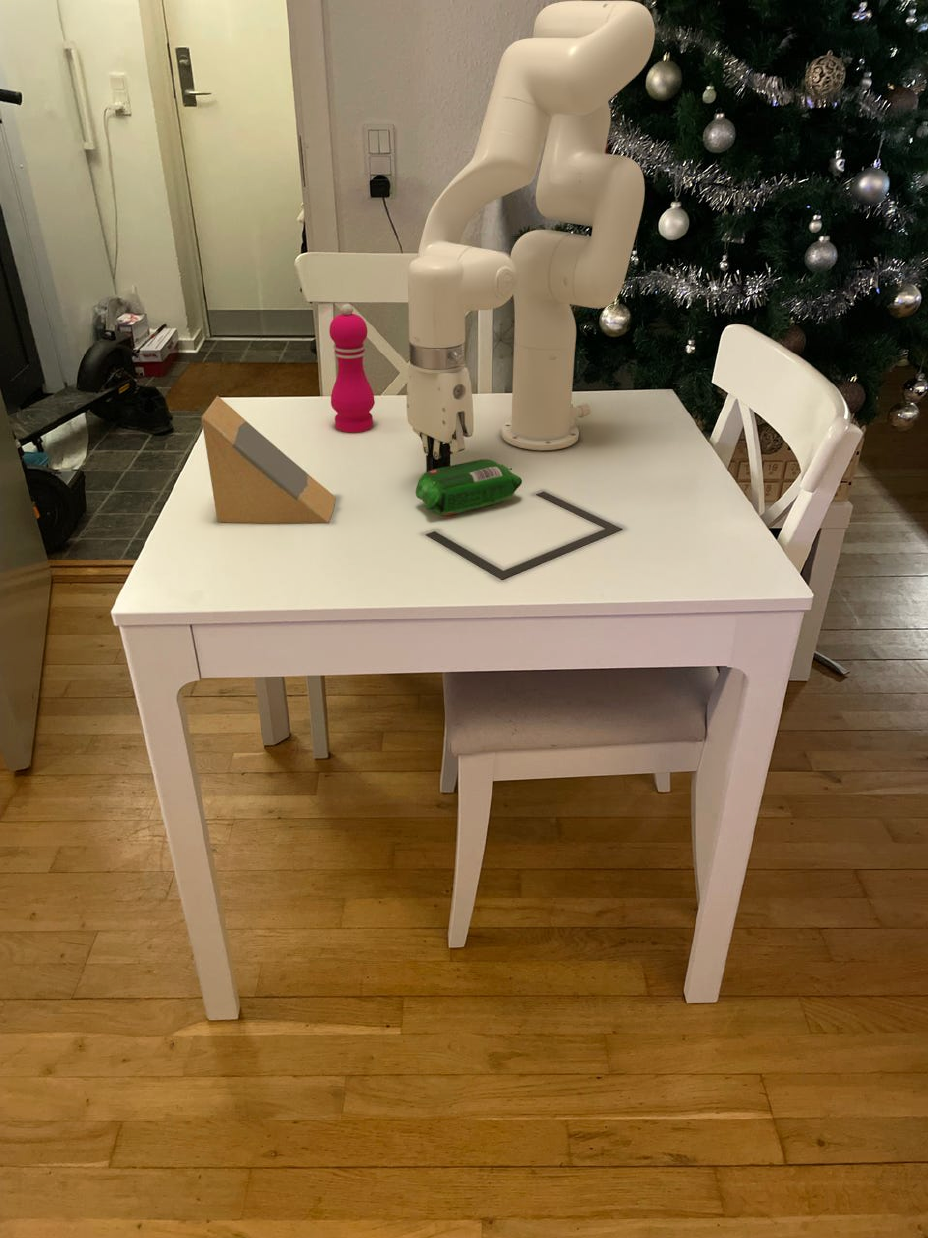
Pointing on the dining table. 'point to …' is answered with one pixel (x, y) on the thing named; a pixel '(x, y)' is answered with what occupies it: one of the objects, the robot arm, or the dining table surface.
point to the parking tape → (542, 558)
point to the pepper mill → (351, 374)
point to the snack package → (466, 486)
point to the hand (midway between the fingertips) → (438, 479)
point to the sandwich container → (257, 475)
